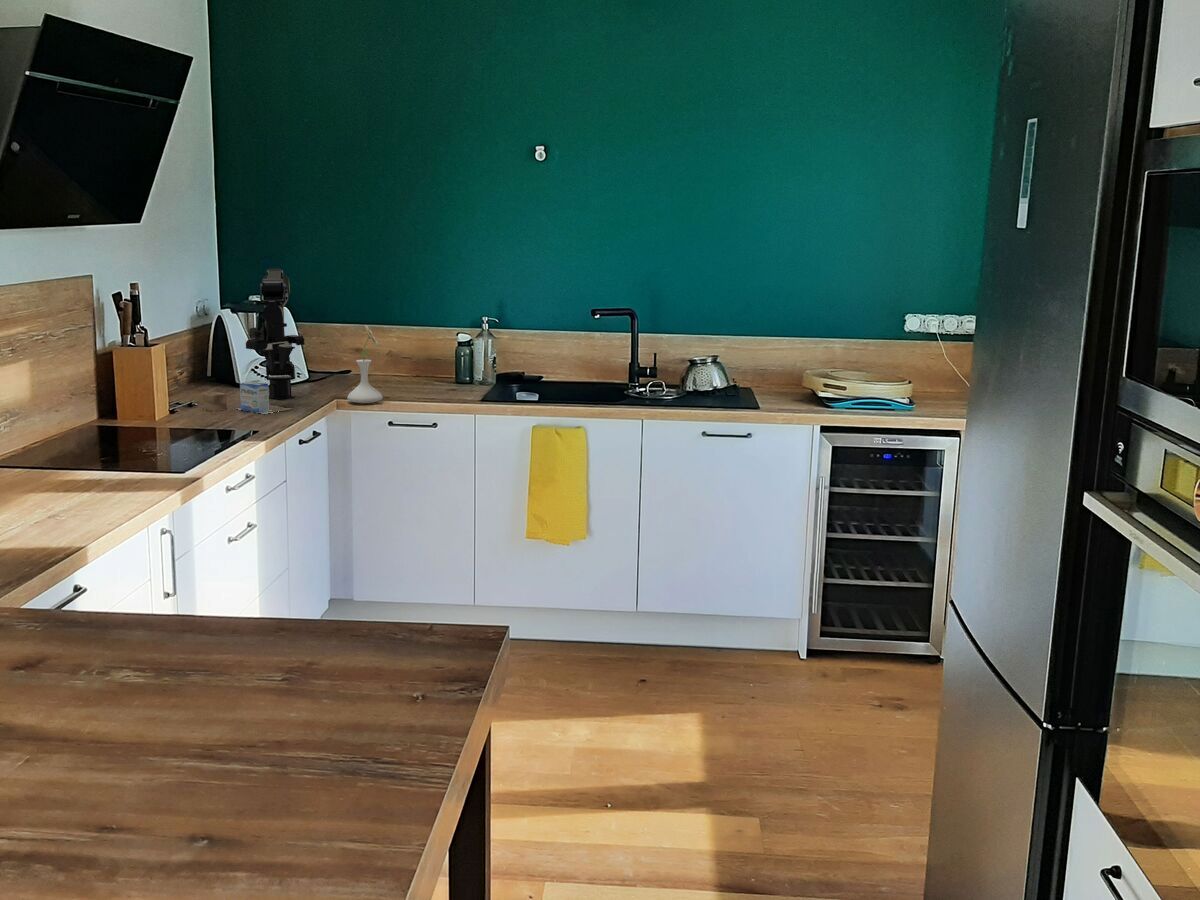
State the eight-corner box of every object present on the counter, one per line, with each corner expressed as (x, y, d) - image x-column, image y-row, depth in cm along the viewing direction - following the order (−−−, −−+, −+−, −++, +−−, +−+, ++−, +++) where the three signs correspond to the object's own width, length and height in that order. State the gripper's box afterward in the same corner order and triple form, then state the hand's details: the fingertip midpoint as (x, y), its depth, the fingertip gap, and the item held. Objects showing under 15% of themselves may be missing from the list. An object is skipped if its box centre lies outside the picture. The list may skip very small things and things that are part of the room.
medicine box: (240, 410, 363) (239, 382, 361) (250, 408, 367) (249, 380, 365) (259, 412, 359) (258, 384, 358) (269, 410, 363) (268, 382, 361)
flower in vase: (374, 406, 374) (372, 328, 368) (341, 404, 376) (338, 327, 371) (390, 399, 386) (387, 324, 381) (357, 398, 388) (355, 323, 383)
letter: (267, 404, 375) (267, 403, 375) (295, 409, 367) (295, 408, 367) (235, 409, 366) (235, 408, 366) (264, 414, 357) (264, 414, 357)
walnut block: (217, 407, 369) (216, 392, 368) (226, 409, 366) (226, 393, 365) (203, 410, 365) (202, 394, 364) (213, 411, 362) (212, 395, 361)
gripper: (282, 316, 376) (284, 364, 380) (233, 320, 362) (236, 370, 365) (304, 318, 370) (306, 367, 373) (255, 323, 355) (258, 374, 359)
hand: (276, 369), depth 368 cm, fingers open, 4 cm apart
